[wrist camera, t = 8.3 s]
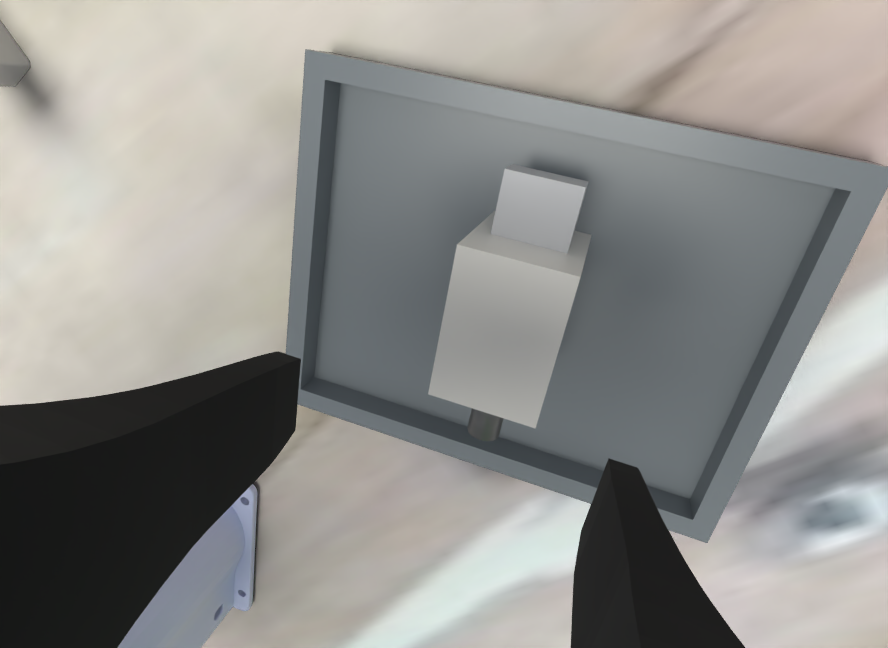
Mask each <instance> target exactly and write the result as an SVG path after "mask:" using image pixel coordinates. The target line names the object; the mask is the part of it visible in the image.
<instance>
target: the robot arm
mask: <svg viewBox="0 0 888 648" xmlns="http://www.w3.org/2000/svg"><path fill="white" fill-rule="evenodd" d="M300 365H301V359H300V358H296V357H293V356H290V355H287V354H284V353H281V352H273V353H269V354H264V355H261V356H257V357H253V358H250V359H247V360H243V361H240V362H236V363H233V364H230V365H226V366H223V367H220V368H216V369H213V370H209V371H206V372H203V373H199V374H196V375H192V376H188V377H184V378H180V379H176V380H173V381H169V382H165V383H161V384H157V385H153V386H149V387H144V388H140V389H135V390H130V391H125V392H119V393H114V394H108V395H102V396H96V397H89V398H81V399H72V400H63V401H55V402H46V403H36V404H22V405H7V406H0V648H201V647H202V646H203V645H204V643H205V642H206V641H207V639H208V638H209V637H210V635H211V634H212V633H213V632H214V630H215V629H216V628H217V626H218V625H219V624H220V622H221V621H222V620H223V619H224V617H225V616H226V615H227V613H228V612H229V611H230V609H231V608H232V607H234V608H237V609H239V610H242V611H248V610H249V609H250V607H251V606H252V602H253V580H254V558H255V536H256V513H257V489H256V487H255V486H254V485H253V483H254V482H255V481H256V480H257V478H258V477H259V476H260V475H261V474H262V473H263V472H264V471H265V470H266V469H267V468H268V467H269V466H270V465H271V463H272V462H273V461H274V459H275V458H276V457H277V455H278V454H279V453H280V451H281V450H282V449H283V447H284V446H285V444H286V443H287V442H288V440H289V439H290V437H291V436H292V434H293V433H294V431H295V427H296V415H297V402H298V390H299V377H300ZM571 648H745V647H744V645H743V644H742V643H741V641H740V640H739V639H738V638H737V636H736V635H735V634H734V633H733V631H732V630H731V629H730V627H729V626H728V624H727V623H726V622H725V620H724V619H723V618H722V616H721V615H720V613H719V612H718V611H717V609H716V608H715V606H714V605H713V604H712V602H711V601H710V600H709V598H708V597H707V595H706V594H705V592H704V591H703V589H702V588H701V586H700V585H699V583H698V581H697V580H696V578H695V576H694V575H693V573H692V572H691V570H690V568H689V567H688V565H687V563H686V562H685V560H684V558H683V556H682V555H681V553H680V551H679V549H678V547H677V546H676V544H675V542H674V540H673V538H672V536H671V534H670V532H669V531H668V529H667V527H666V525H665V523H664V521H663V519H662V517H661V515H660V513H659V511H658V509H657V507H656V504H655V502H654V500H653V498H652V496H651V494H650V492H649V489H648V487H647V485H646V483H645V481H644V478H643V476H642V474H641V472H640V470H639V469H638V468H637V467H634V466H631V465H628V464H625V463H622V462H619V461H616V460H613V459H609V458H608V461H607V464H606V466H605V469H604V472H603V474H602V477H601V480H600V482H599V485H598V488H597V490H596V493H595V496H594V498H593V501H592V504H591V506H590V509H589V512H588V514H587V517H586V520H585V522H584V525H583V528H582V530H581V535H580V541H579V547H578V553H577V559H576V565H575V571H574V585H573V607H572V632H571Z"/></svg>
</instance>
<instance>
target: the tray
mask: <svg viewBox="0 0 888 648" xmlns="http://www.w3.org/2000/svg"><path fill="white" fill-rule="evenodd" d="M511 164H514V165H519V166H523V167H527V168H532V169H536V170H541V171H545V172H549V173H554V174H558V175H562V176H567V177H571V178H575V179H580V180H584V181H588V185H587V189H586V193H585V196H584V200H583V203H582V207H581V210H580V214H579V217H578V221H577V224H576V228H575V231H577V232H582V233H586V234H590V235H591V239H590V243H589V247H588V251H587V254H586V258H585V262H584V266H583V270H582V274H581V278H580V281H579V284H578V288H577V291H576V294H575V298H574V301H573V304H572V308H571V311H570V314H569V318H568V321H567V325H566V328H565V331H564V335H563V338H562V341H561V345H560V348H559V351H558V355H557V358H556V361H555V365H554V368H553V371H552V375H551V378H550V382H549V385H548V388H547V392H546V395H545V398H544V402H543V405H542V408H541V412H540V415H539V418H538V422H537V425H536V429H535V428H532V427H529V426H526V425H523V424H520V423H516V422H513V421H510V420H507V419H503V423H502V427H501V430H500V434H499V437H498V438H497V439H496V440H493V441H482V440H479V439H476V438H474V437H473V436H471V435H470V434H469V432H468V430H467V427H468V422H469V418H470V414H471V410H472V408H470V407H466V406H463V405H460V404H457V403H454V402H451V401H448V400H445V399H441V398H438V397H435V396H432V395H429V394H428V392H429V387H430V381H431V376H432V371H433V366H434V361H435V356H436V350H437V345H438V340H439V335H440V330H441V325H442V319H443V314H444V309H445V304H446V299H447V294H448V288H449V283H450V278H451V273H452V268H453V263H454V257H455V252H456V247H457V244H458V243H459V242H460V241H461V240H463V239H464V238H465V237H466V236H467V235H468V234H469V233H470V232H471V231H473V230H474V229H475V228H476V227H477V226H478V225H479V224H480V223H482V222H483V221H484V220H485V219H486V218H487V217H488V216H489V215H491V214H492V213H493V212H494V211H496V207H497V202H498V197H499V193H500V188H501V184H502V179H503V174H504V170H505V168H507V167H508V166H510V165H511ZM887 187H888V166H884V165H881V164H878V163H874V162H870V161H865V160H860V159H855V158H850V157H846V156H841V155H836V154H831V153H826V152H821V151H816V150H811V149H806V148H801V147H796V146H791V145H786V144H781V143H776V142H771V141H766V140H761V139H756V138H751V137H746V136H742V135H737V134H732V133H727V132H722V131H717V130H712V129H707V128H702V127H697V126H692V125H687V124H682V123H677V122H672V121H667V120H662V119H657V118H652V117H647V116H642V115H637V114H633V113H628V112H623V111H618V110H613V109H608V108H603V107H598V106H593V105H588V104H583V103H578V102H573V101H568V100H563V99H558V98H553V97H548V96H543V95H538V94H533V93H528V92H524V91H519V90H514V89H509V88H504V87H499V86H494V85H489V84H484V83H479V82H474V81H469V80H464V79H459V78H454V77H449V76H444V75H439V74H434V73H429V72H424V71H420V70H415V69H410V68H405V67H400V66H395V65H390V64H385V63H380V62H375V61H370V60H365V59H360V58H355V57H350V56H345V55H340V54H335V53H330V52H322V51H315V50H307V49H305V63H304V79H303V94H302V110H301V125H300V141H299V157H298V172H297V188H296V203H295V219H294V235H293V250H292V266H291V281H290V297H289V313H288V328H287V344H286V354H287V355H290V356H293V357H296V358H300V359H301V365H300V377H299V390H298V402H297V404H298V405H301V406H304V407H307V408H310V409H313V410H316V411H319V412H322V413H325V414H328V415H331V416H334V417H337V418H340V419H343V420H345V421H348V422H351V423H354V424H357V425H360V426H363V427H366V428H369V429H372V430H375V431H378V432H381V433H384V434H387V435H390V436H393V437H396V438H399V439H402V440H404V441H407V442H410V443H413V444H416V445H419V446H422V447H425V448H428V449H431V450H434V451H437V452H440V453H443V454H446V455H449V456H452V457H455V458H458V459H461V460H463V461H466V462H469V463H472V464H475V465H478V466H481V467H484V468H487V469H490V470H493V471H496V472H499V473H502V474H505V475H508V476H511V477H514V478H517V479H520V480H522V481H525V482H528V483H531V484H534V485H537V486H540V487H543V488H546V489H549V490H552V491H555V492H558V493H561V494H564V495H567V496H570V497H573V498H576V499H579V500H581V501H584V502H587V503H590V504H592V501H593V498H594V496H595V493H596V490H597V488H598V485H599V482H600V480H601V477H602V474H603V472H604V469H605V466H606V464H607V461H608V458H609V459H613V460H616V461H619V462H622V463H625V464H628V465H631V466H634V467H637V468H638V469H639V470H640V472H641V474H642V476H643V478H644V481H645V483H646V485H647V487H648V489H649V492H650V494H651V496H652V498H653V500H654V502H655V504H656V507H657V509H658V511H659V513H660V515H661V517H662V519H663V521H664V523H665V525H666V527H667V529H668V530H670V531H673V532H676V533H679V534H682V535H685V536H688V537H691V538H694V539H697V540H699V541H702V542H705V543H708V541H709V539H710V537H711V535H712V533H713V531H714V529H715V527H716V525H717V523H718V521H719V519H720V517H721V515H722V513H723V511H724V509H725V507H726V505H727V503H728V501H729V499H730V497H731V495H732V493H733V491H734V489H735V487H736V485H737V483H738V481H739V479H740V477H741V476H742V474H743V472H744V470H745V468H746V466H747V464H748V462H749V460H750V458H751V456H752V454H753V452H754V450H755V448H756V446H757V444H758V442H759V440H760V438H761V436H762V434H763V432H764V430H765V428H766V426H767V424H768V422H769V420H770V418H771V416H772V414H773V412H774V410H775V408H776V406H777V405H778V403H779V401H780V399H781V397H782V395H783V393H784V391H785V389H786V387H787V385H788V383H789V381H790V379H791V377H792V375H793V373H794V371H795V369H796V367H797V365H798V363H799V361H800V359H801V357H802V355H803V353H804V351H805V349H806V347H807V345H808V343H809V341H810V339H811V337H812V335H813V333H814V332H815V330H816V328H817V326H818V324H819V322H820V320H821V318H822V316H823V314H824V312H825V310H826V308H827V306H828V304H829V302H830V300H831V298H832V296H833V294H834V292H835V290H836V288H837V286H838V284H839V282H840V280H841V278H842V276H843V274H844V272H845V270H846V268H847V266H848V264H849V262H850V260H851V259H852V257H853V255H854V253H855V251H856V249H857V247H858V245H859V243H860V241H861V239H862V237H863V235H864V233H865V231H866V229H867V227H868V225H869V223H870V221H871V219H872V217H873V215H874V213H875V211H876V209H877V207H878V205H879V203H880V201H881V199H882V197H883V195H884V193H885V191H886V189H887Z"/></svg>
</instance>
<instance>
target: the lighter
mask: <svg viewBox="0 0 888 648" xmlns="http://www.w3.org/2000/svg"><path fill="white" fill-rule="evenodd" d="M29 68H30V61H29V60H28V58H27V57H26V56H25V54H24V53H23V51H22V50H21V49H20V47H19V46H18V44H17V43H16V42H15V40H14V39H13V37H12V36H11V35H10V33H9V32H8V30H7V29H6V28H5V26H4V25H3V23H2V22H1V21H0V86H2V87H15V86H16V85H17V84H18V82H19V81H20V80H21V78H22V77H23V76H24V75H25V73H26V72H27V71H28V70H29Z"/></svg>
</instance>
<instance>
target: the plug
mask: <svg viewBox="0 0 888 648" xmlns="http://www.w3.org/2000/svg"><path fill="white" fill-rule="evenodd" d="M587 185H588V181H584V180H580V179H575V178H571V177H567V176H562V175H558V174H554V173H549V172H545V171H541V170H536V169H532V168H527V167H523V166H519V165H514V164H511V165H510V166H508V167H507V168H505V170H504V174H503V179H502V184H501V188H500V193H499V197H498V202H497V207H496V211H494V212H493V213H492V214H491V215H489V216H488V217H487V218H486V219H485V220H484V221H483V222H482V223H480V224H479V225H478V226H477V227H476V228H475V229H474V230H473V231H471V232H470V233H469V234H468V235H467V236H466V237H465V238H464V239H463V240H461V241H460V242H459V243H458V244H457V247H456V252H455V257H454V263H453V268H452V273H451V278H450V283H449V288H448V294H447V299H446V304H445V309H444V314H443V319H442V325H441V330H440V335H439V340H438V345H437V350H436V356H435V361H434V366H433V371H432V376H431V381H430V387H429V392H428V394H429V395H432V396H435V397H438V398H441V399H445V400H448V401H451V402H454V403H457V404H460V405H463V406H466V407H470V408H472V410H471V414H470V418H469V422H468V427H467V430H468V432H469V434H470V435H471V436H473V437H474V438H476V439H479V440H482V441H493V440H496V439H497V438H498V437H499V434H500V430H501V427H502V423H503V419H507V420H510V421H513V422H516V423H520V424H523V425H526V426H529V427H532V428H535V429H536V425H537V422H538V418H539V415H540V412H541V408H542V405H543V402H544V398H545V395H546V392H547V388H548V385H549V382H550V378H551V375H552V371H553V368H554V365H555V361H556V358H557V355H558V351H559V348H560V345H561V341H562V338H563V335H564V331H565V328H566V325H567V321H568V318H569V314H570V311H571V308H572V304H573V301H574V298H575V294H576V291H577V288H578V284H579V281H580V278H581V274H582V270H583V266H584V262H585V258H586V254H587V251H588V247H589V243H590V239H591V235H590V234H586V233H582V232H577V231H575V228H576V224H577V221H578V217H579V214H580V210H581V207H582V203H583V200H584V196H585V193H586V189H587Z"/></svg>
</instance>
